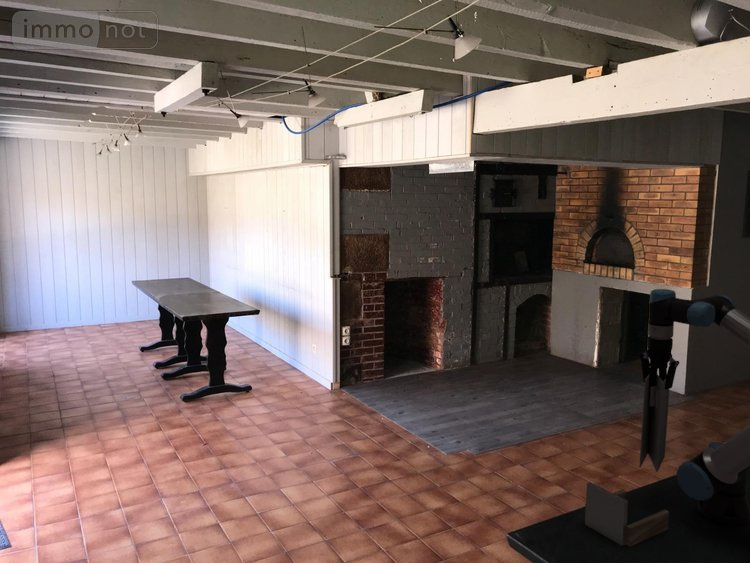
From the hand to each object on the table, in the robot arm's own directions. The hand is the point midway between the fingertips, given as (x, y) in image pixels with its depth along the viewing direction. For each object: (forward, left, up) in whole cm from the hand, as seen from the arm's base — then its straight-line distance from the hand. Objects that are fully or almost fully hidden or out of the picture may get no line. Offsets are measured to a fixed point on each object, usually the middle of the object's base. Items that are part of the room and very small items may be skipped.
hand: (656, 406), depth 205 cm
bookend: (-5, +29, -34) cm, 45 cm away
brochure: (0, 0, -20) cm, 20 cm away
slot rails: (-5, +19, -34) cm, 39 cm away
